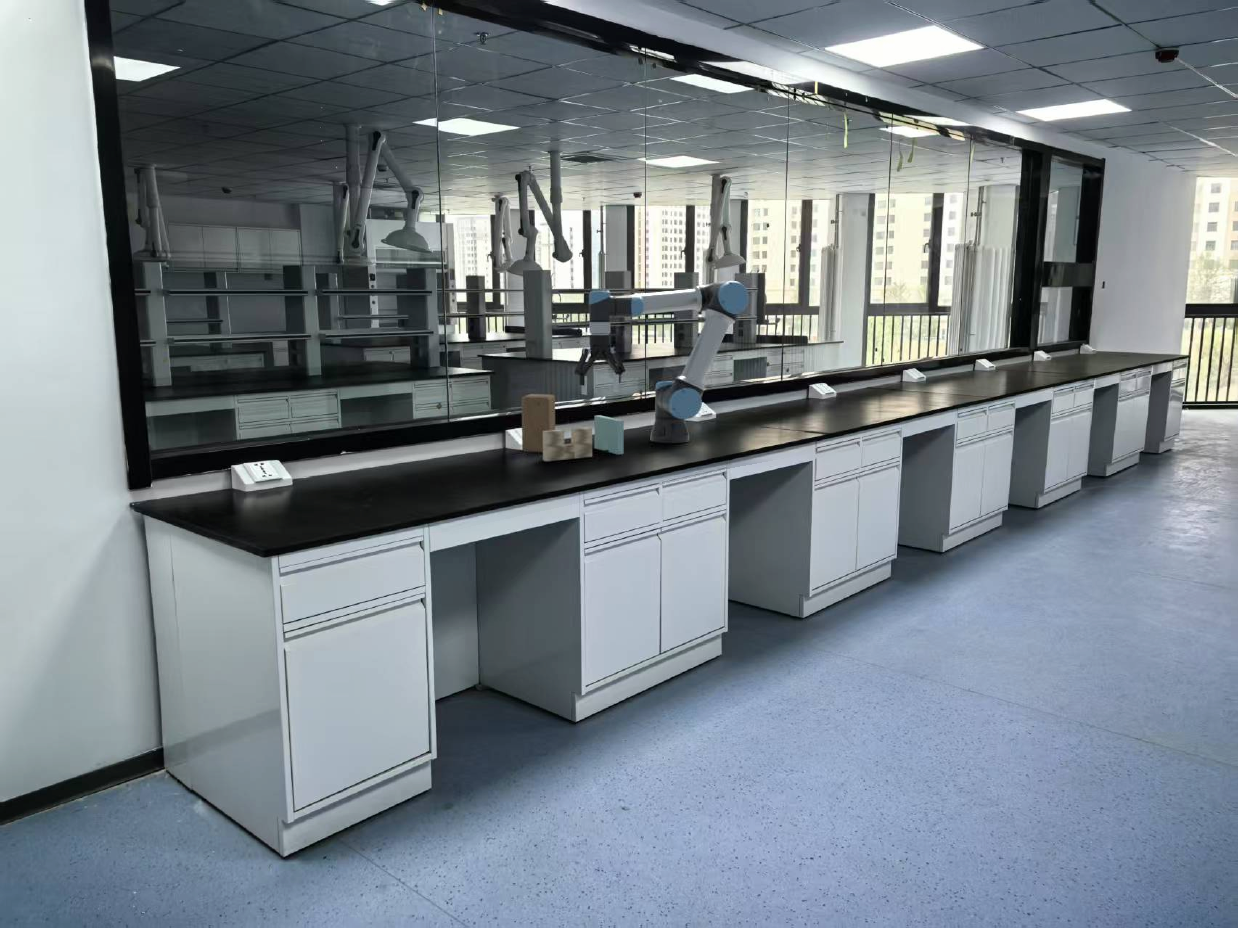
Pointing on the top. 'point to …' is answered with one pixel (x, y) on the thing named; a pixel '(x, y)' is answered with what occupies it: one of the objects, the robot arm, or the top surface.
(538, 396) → the wooden block
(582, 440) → the beige patterned panel
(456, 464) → the top surface
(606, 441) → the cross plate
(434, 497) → the top surface
